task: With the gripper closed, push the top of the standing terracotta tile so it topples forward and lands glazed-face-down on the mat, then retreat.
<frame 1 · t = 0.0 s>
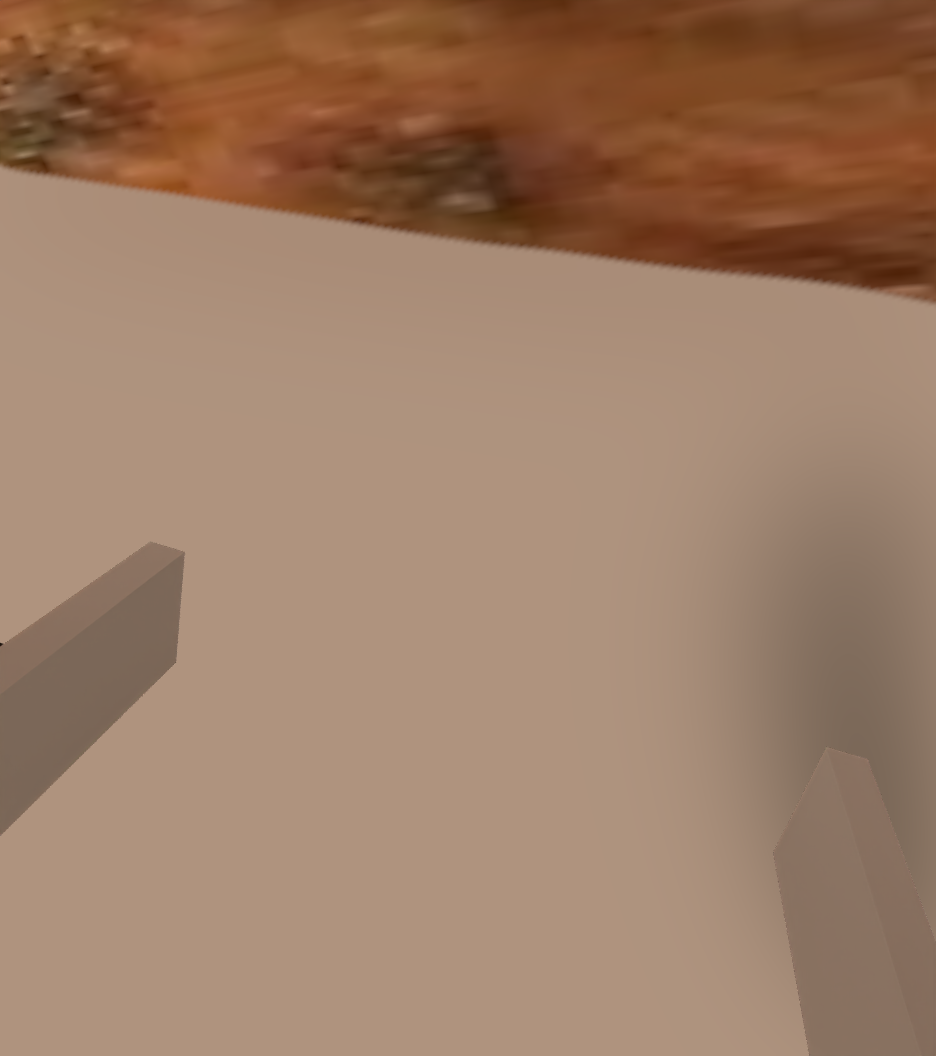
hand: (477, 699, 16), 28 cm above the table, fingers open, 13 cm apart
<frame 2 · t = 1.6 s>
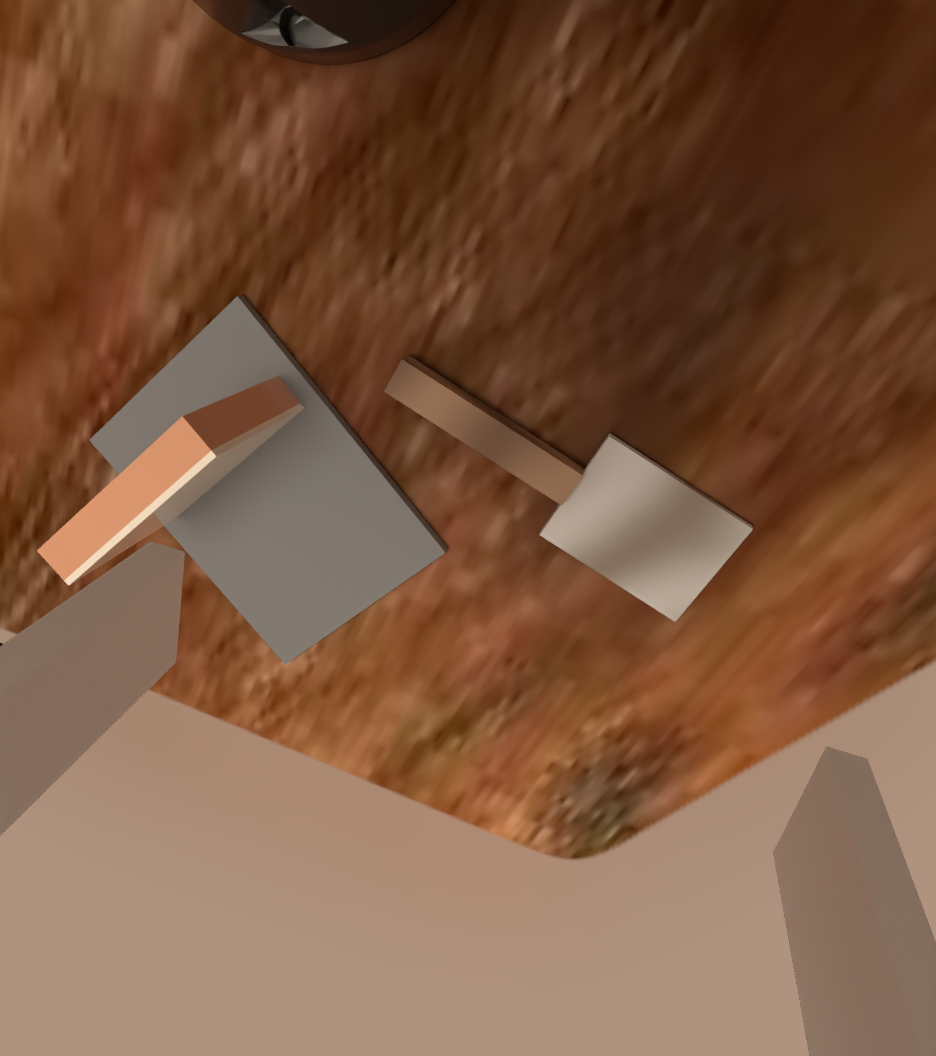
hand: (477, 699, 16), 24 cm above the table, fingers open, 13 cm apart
mat: (268, 491, 43), on the table
turner: (556, 472, 40), on the table
tile: (225, 449, 42), point 1 cm above the table, touching mat
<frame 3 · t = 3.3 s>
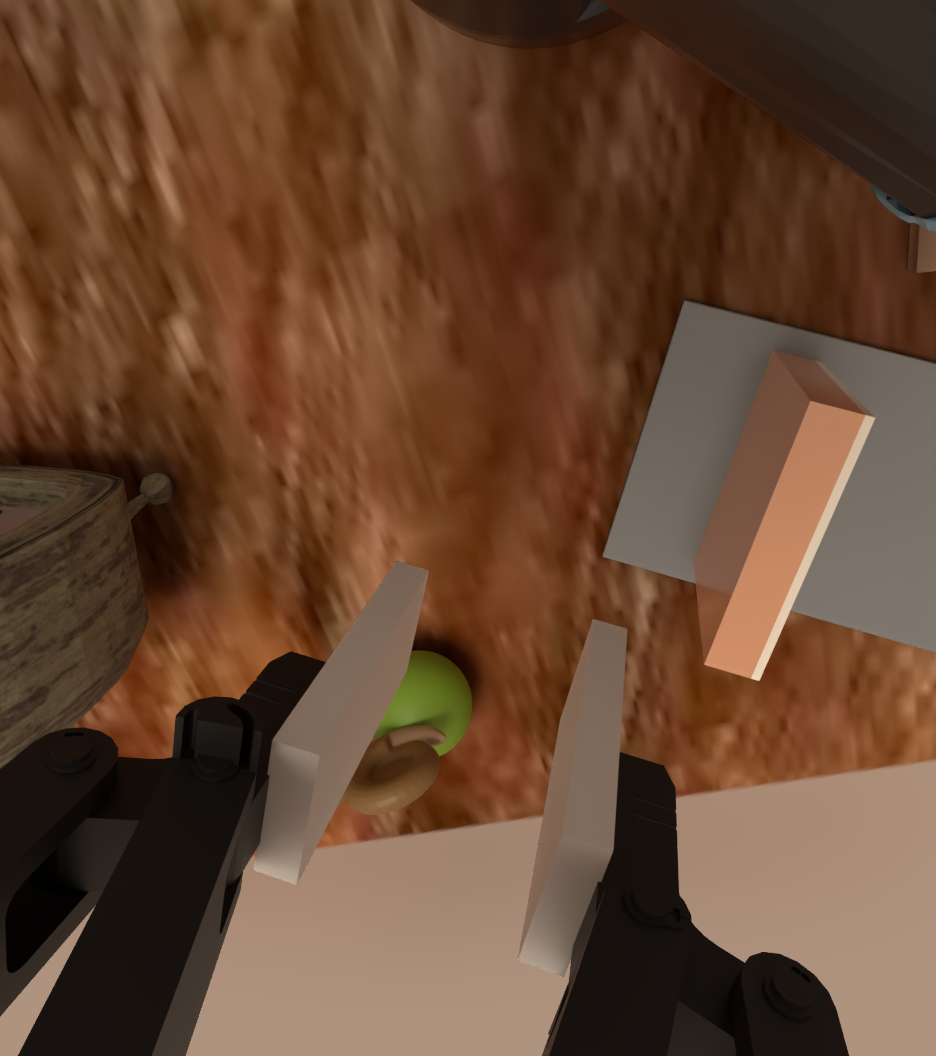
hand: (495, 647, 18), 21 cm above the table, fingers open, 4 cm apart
tabletop clock: (87, 524, 45), on the table
mat: (820, 482, 36), on the table
snail figurine: (424, 676, 44), on the table
tile: (753, 468, 36), point 1 cm above the table, touching mat
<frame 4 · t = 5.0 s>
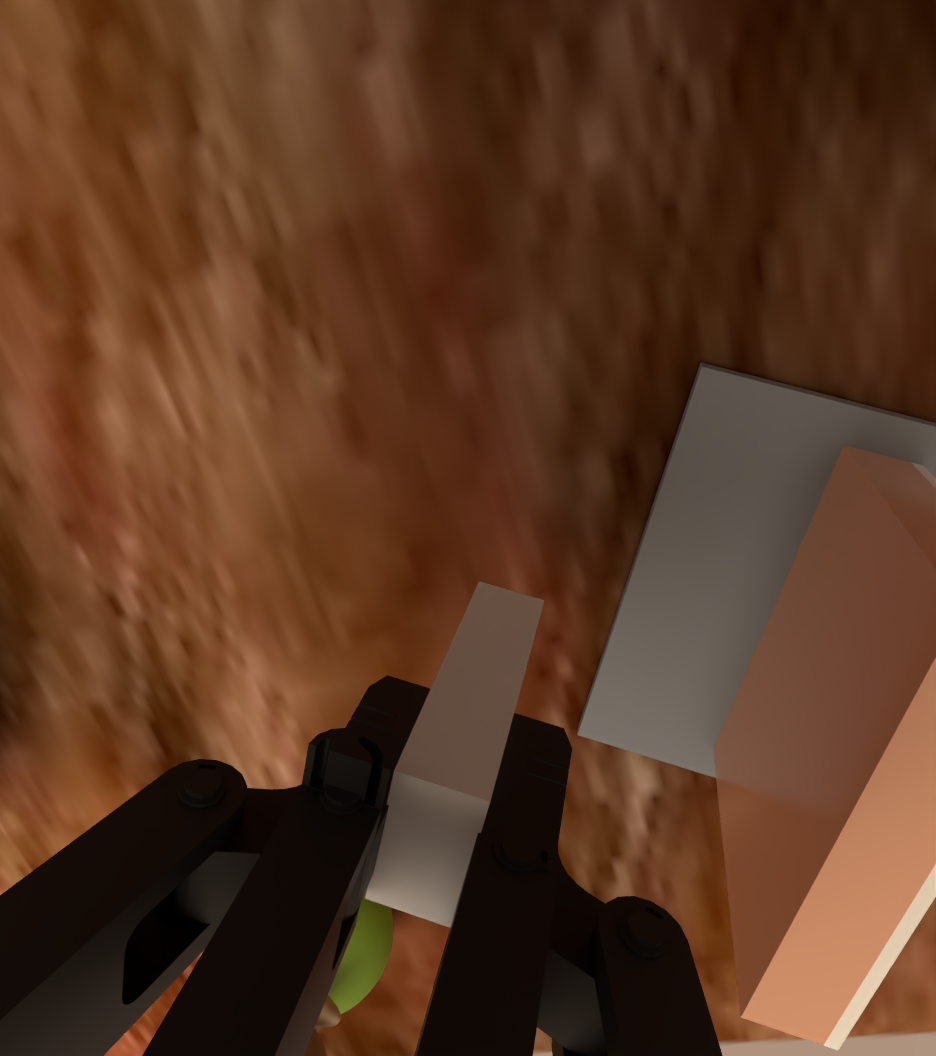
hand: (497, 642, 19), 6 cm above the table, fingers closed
mat: (911, 640, 23), on the table
snail figurine: (332, 871, 32), on the table
tile: (808, 620, 23), point 1 cm above the table, touching mat
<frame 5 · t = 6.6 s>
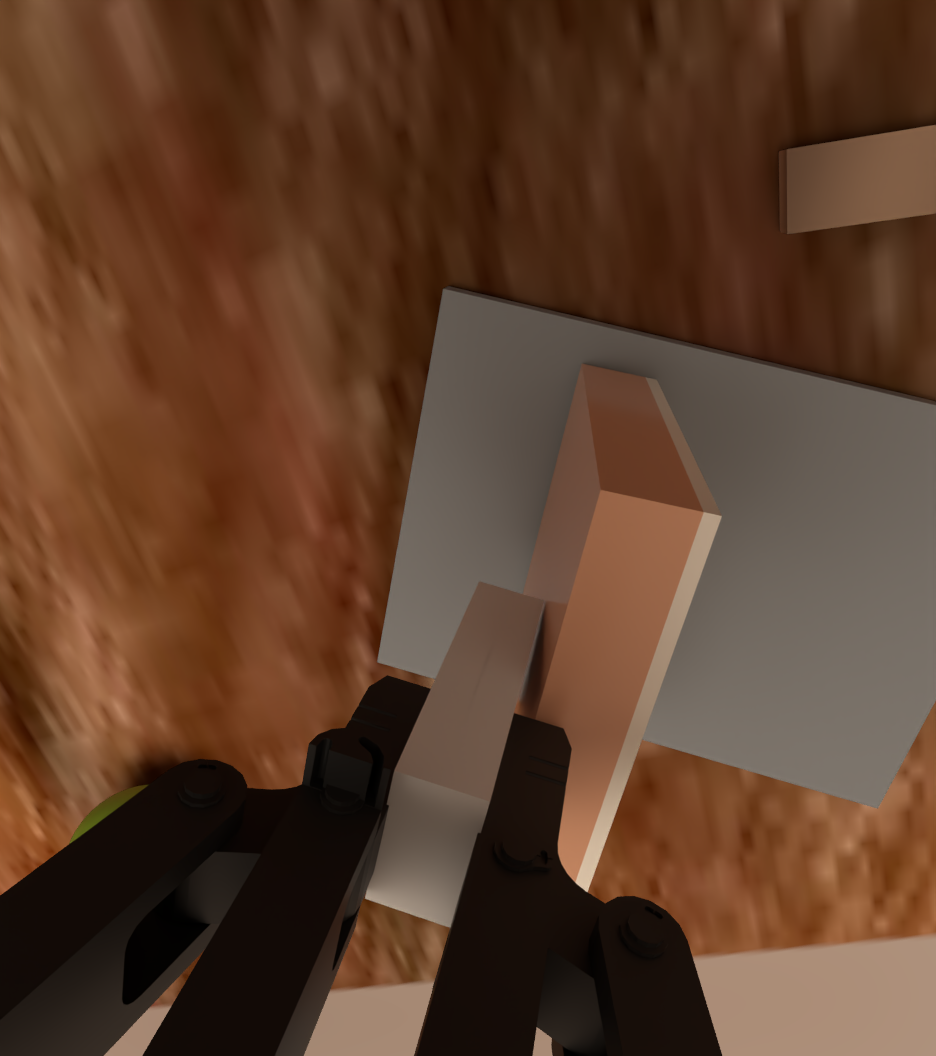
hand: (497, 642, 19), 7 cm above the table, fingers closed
mat: (675, 557, 24), on the table
snail figurine: (178, 810, 32), on the table
tile: (572, 540, 24), point 1 cm above the table, tilted 7°, touching mat
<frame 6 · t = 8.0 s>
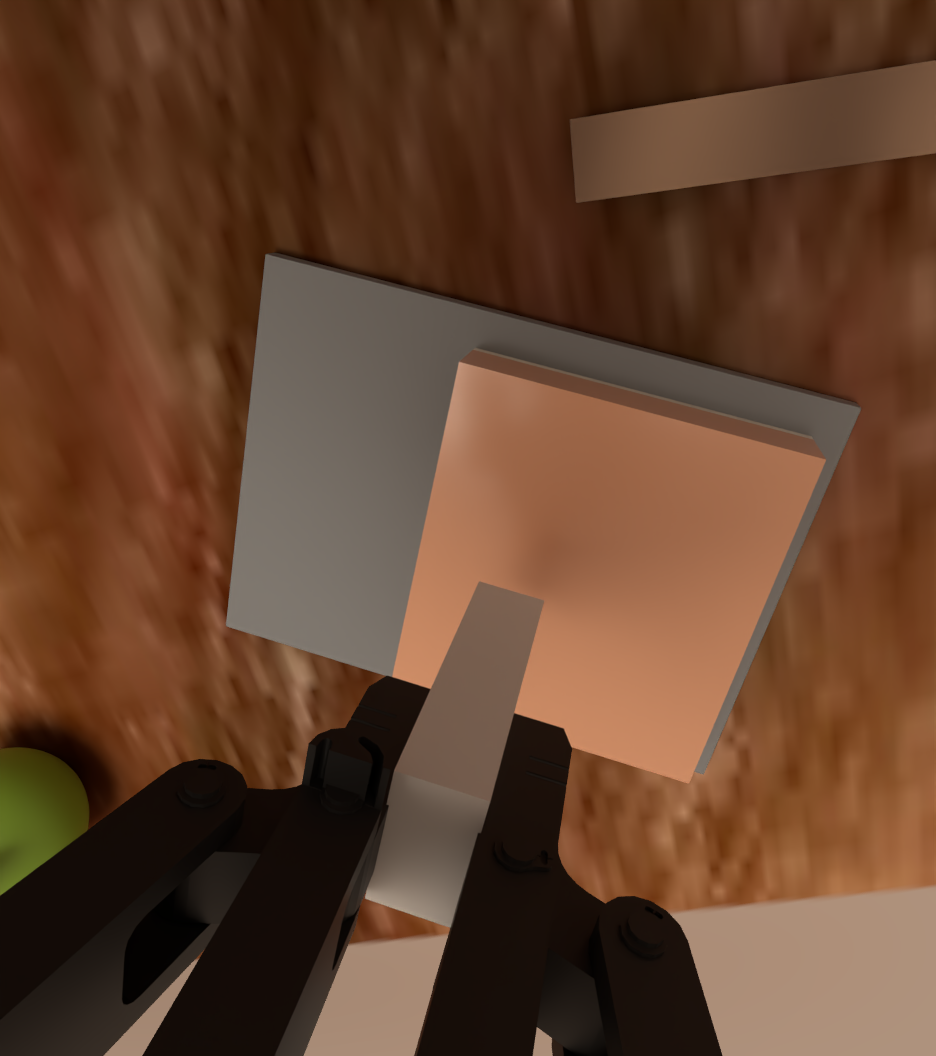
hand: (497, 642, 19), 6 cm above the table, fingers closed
mat: (503, 524, 24), on the table
snail figurine: (50, 775, 33), on the table
tile: (430, 527, 23), point 2 cm above the table, tilted 90°, touching mat
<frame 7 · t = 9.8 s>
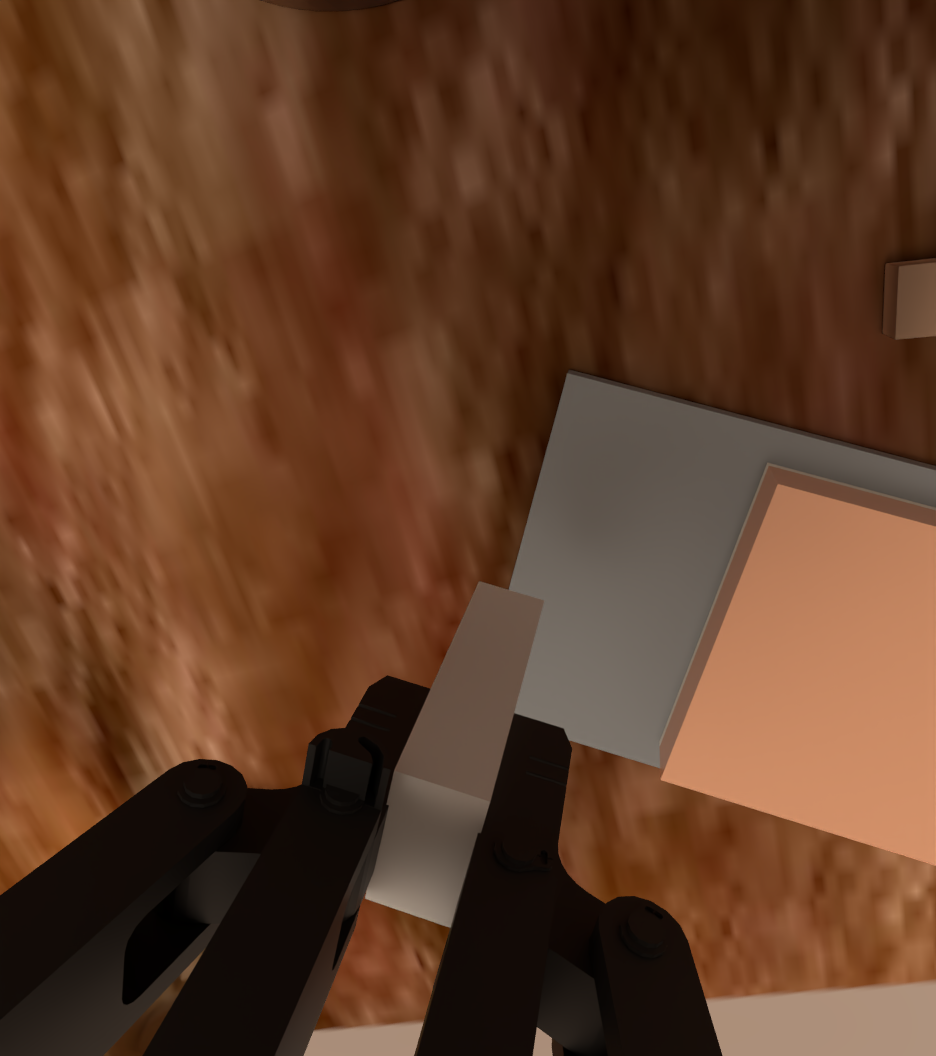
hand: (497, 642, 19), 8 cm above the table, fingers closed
mat: (766, 621, 26), on the table
snail figurine: (261, 846, 34), on the table
tile: (711, 627, 24), point 2 cm above the table, tilted 90°, touching mat
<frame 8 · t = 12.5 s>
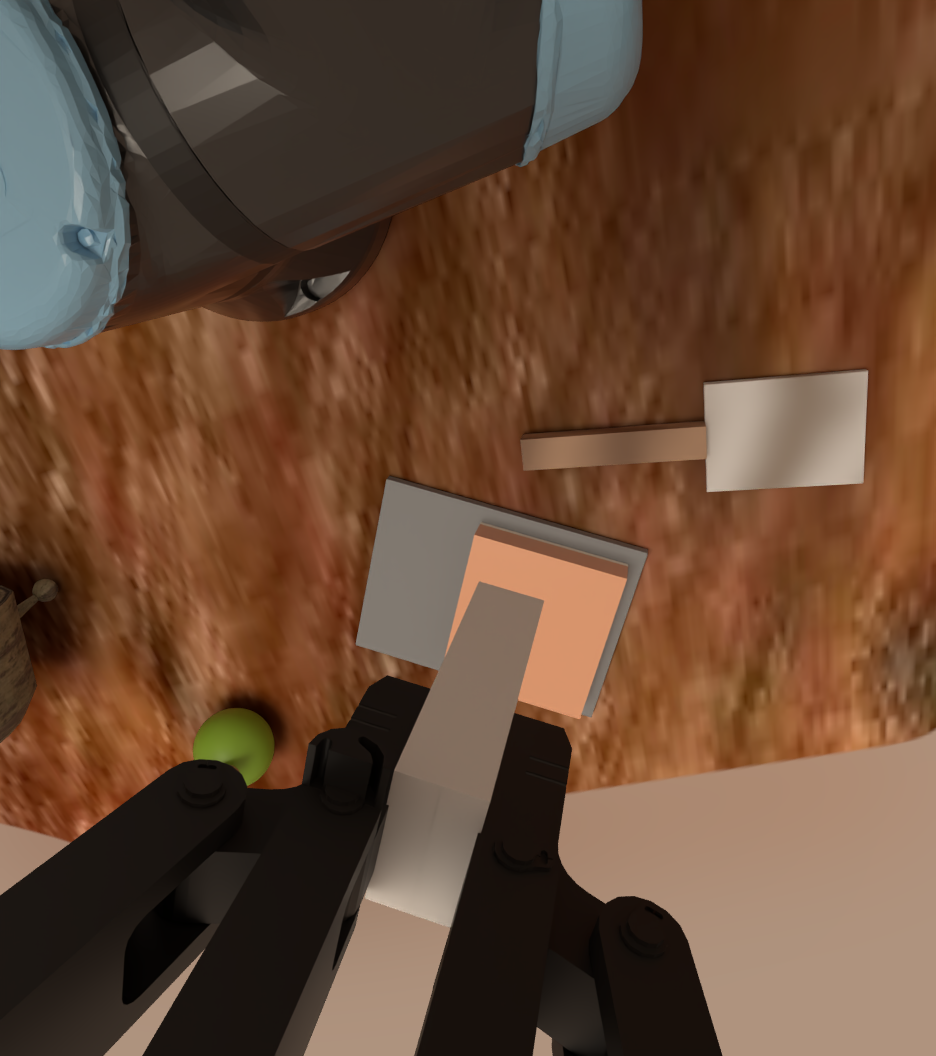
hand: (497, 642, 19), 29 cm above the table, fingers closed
mat: (493, 597, 52), on the table
snail figurine: (247, 725, 60), on the table
turner: (686, 438, 45), on the table
tile: (460, 600, 50), point 2 cm above the table, tilted 90°, touching mat
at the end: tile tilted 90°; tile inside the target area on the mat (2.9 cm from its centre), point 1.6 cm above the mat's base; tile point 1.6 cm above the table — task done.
